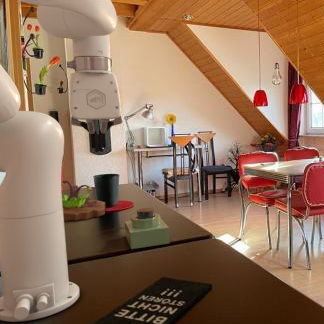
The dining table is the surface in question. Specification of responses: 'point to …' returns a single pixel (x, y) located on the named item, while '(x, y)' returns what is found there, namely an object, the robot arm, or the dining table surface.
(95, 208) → the plant
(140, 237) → the button base
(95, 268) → the dining table surface
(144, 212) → the dark round button cap
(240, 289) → the dining table surface
